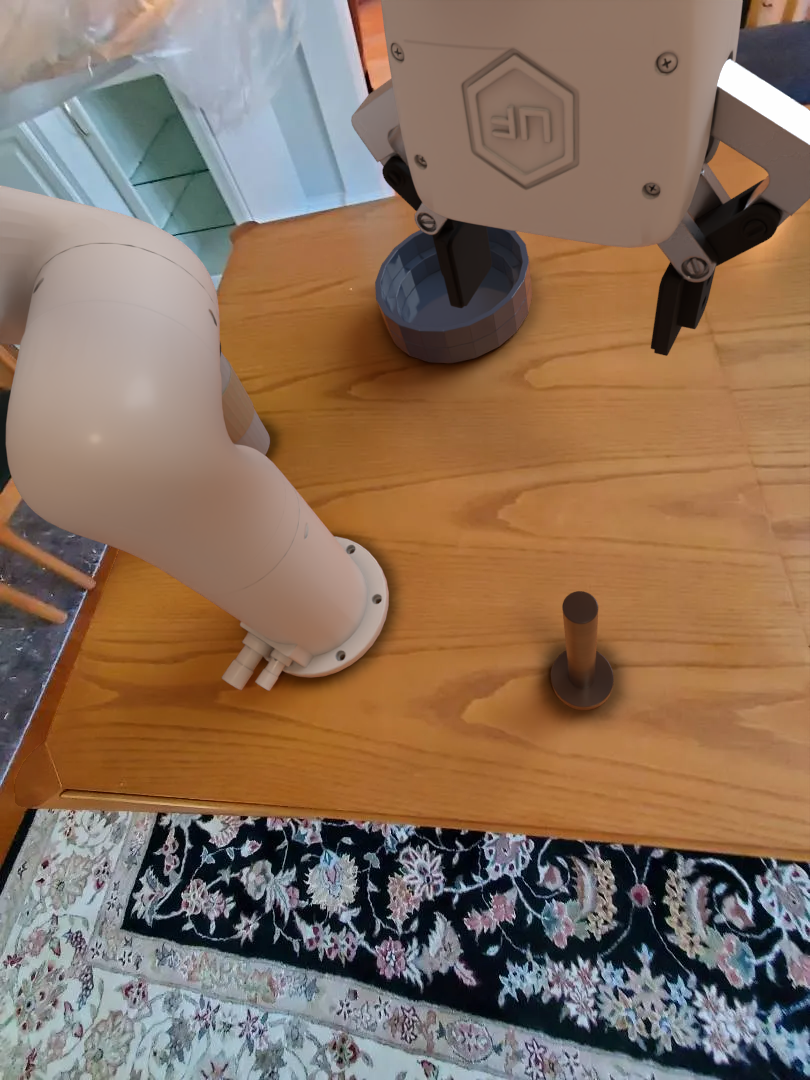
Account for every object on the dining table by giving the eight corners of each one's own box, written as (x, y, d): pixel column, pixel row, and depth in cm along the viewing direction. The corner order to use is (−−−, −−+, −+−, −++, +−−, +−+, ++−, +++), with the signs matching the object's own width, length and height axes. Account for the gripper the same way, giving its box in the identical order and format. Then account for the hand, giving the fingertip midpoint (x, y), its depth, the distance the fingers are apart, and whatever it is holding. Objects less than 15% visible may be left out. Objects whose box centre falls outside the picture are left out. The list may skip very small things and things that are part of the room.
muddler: (596, 721, 45) (601, 664, 31) (541, 691, 47) (521, 623, 33) (623, 668, 46) (640, 589, 32) (568, 641, 48) (560, 554, 34)
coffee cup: (292, 408, 65) (220, 299, 52) (276, 486, 61) (193, 389, 48) (213, 415, 68) (125, 313, 55) (193, 490, 64) (92, 399, 51)
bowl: (485, 384, 60) (477, 348, 56) (362, 344, 67) (346, 309, 63) (558, 273, 64) (556, 232, 60) (435, 245, 71) (425, 206, 66)
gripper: (179, -149, 16) (370, 326, 31) (988, -264, 9) (736, 423, 24) (328, -283, 18) (441, 223, 33) (1083, -462, 11) (797, 283, 26)
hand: (565, 307), depth 29 cm, fingers open, 9 cm apart
